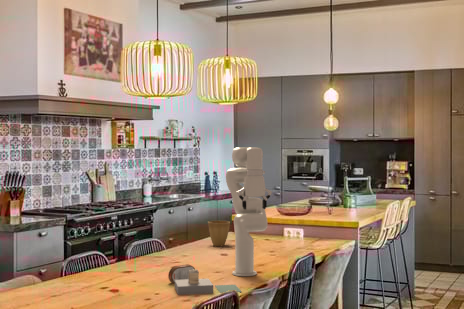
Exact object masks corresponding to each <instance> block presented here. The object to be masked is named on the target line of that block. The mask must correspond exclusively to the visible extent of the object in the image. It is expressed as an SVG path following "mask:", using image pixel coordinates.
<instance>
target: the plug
mask: <svg viewBox="0 0 464 309" xmlns="http://www.w3.org/2000/svg"><path fill="white" fill-rule="evenodd" d="M199 272H200V271H199V270H198V269H195V270H189V284H197V283H199V279H200V277H199Z"/></svg>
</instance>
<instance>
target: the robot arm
mask: <svg viewBox="0 0 464 309" xmlns="http://www.w3.org/2000/svg"><path fill="white" fill-rule="evenodd" d="M263 154H264V153H263V149H262V148H261V147H254V146H252V147H249V146H247V147H246V146H245V147H243V146H242V147H235V148H233V149H232V154H231V158H232V162H233V164H234V166H236V167H233V168H229V169H228V170H227V171H226V173H225V181H226V182H225V183H226V186H227V188H228V190H229V192H230V194H231V198H232V203H233V209H234V212H235V214H236V215H235V216H234V218H233V227H234V233H235V234H234V237H235V243H234V244H235V245H234V246H235V249H234V250H235V257H234V258H235V259H234V260H235V261H234V262H235V263H234V265H235V268H234V269H235V270H233V271H232V275H233V276H237V277H253V276H256V275H257V273H258V272H257V271H256V270H254V269H255V268H254V265H255V264H254V263H255V262H254V261H255V258H254V257H255V256H254V254H255V250H254V249H255V247H254V246H255V243H254V238H253V237H252V236H251V235H250V233H252V232H255V233H257V232H258V233H259V232H265V231H266V230H267V229H268V216H267V213H266V208H267V205H268V204H267V203H268V202H267V201H268V199H270V198H271V195H272V193H273V191H272V190H270V189H268V188H266V182H265V177H264V176H263V175H265V174H266V171H265V170H263V157H264V155H263ZM241 184H243V186H242V185H241ZM266 193H267V195H266Z"/></svg>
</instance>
